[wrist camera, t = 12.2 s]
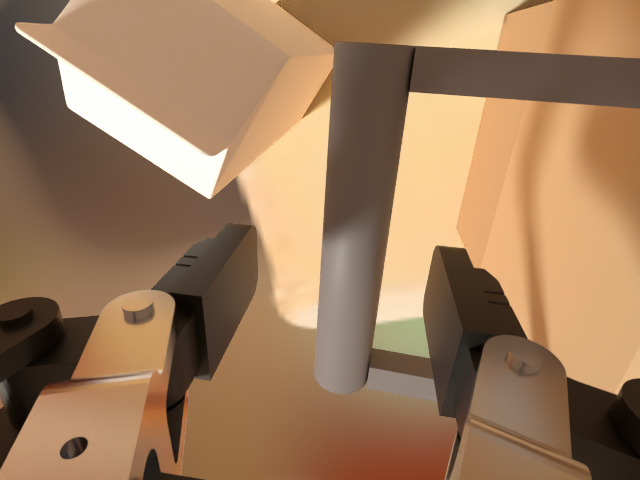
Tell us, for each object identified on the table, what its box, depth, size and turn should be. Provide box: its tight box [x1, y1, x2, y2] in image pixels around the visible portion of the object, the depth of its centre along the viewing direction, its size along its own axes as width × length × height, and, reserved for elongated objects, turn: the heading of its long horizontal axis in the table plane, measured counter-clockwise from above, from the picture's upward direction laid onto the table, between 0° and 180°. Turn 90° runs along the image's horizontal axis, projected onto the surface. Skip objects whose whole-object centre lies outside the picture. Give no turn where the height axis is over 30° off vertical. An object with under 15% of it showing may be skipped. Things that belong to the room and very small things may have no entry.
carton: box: [456, 1, 553, 268], centre depth 25 cm, size 16×14×10 cm
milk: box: [15, 0, 334, 199], centre depth 20 cm, size 6×6×22 cm
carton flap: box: [314, 0, 640, 402], centre depth 16 cm, size 16×14×9 cm
